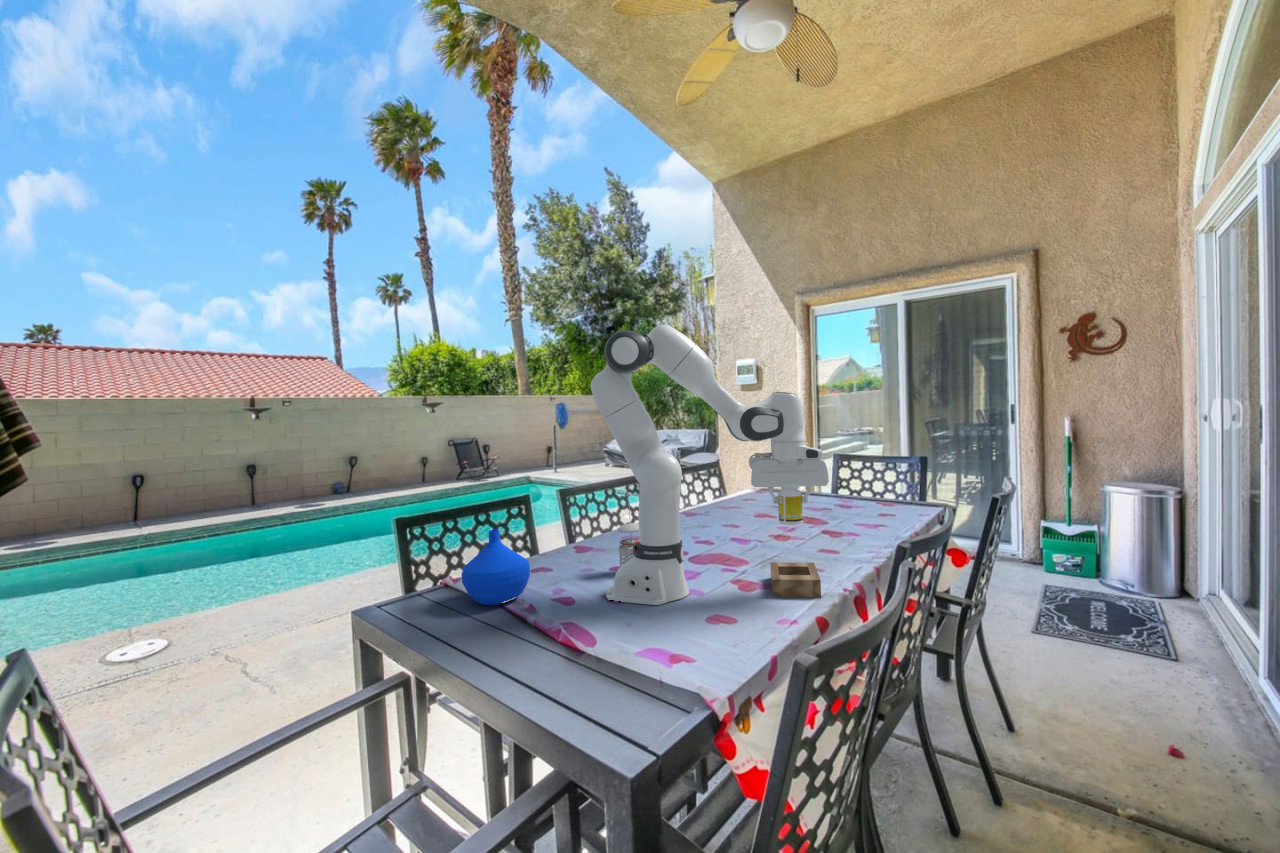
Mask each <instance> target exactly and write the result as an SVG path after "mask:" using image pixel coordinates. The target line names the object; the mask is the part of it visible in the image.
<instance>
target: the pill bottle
mask: <svg viewBox="0 0 1280 853" xmlns="http://www.w3.org/2000/svg"><path fill="white" fill-rule="evenodd" d="M798 488H799V487H797V486H796V484H795V483H785V484H784V487H780V490H779V491H778V494H777V496H778V502H779V504H777V505H778V507H777V508H778V522H779V524H781V525H786V526H797V525H801V524H802V523H803V521H804V520H803V518H804V517H803V503H802V496H803V495H802V492H801V491H800V490H799V489H798Z"/></svg>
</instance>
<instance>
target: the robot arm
mask: <svg viewBox="0 0 1280 853" xmlns="http://www.w3.org/2000/svg"><path fill="white" fill-rule="evenodd" d="M603 352H604V354H603V355H604V359H605V362H606V366H604V368H603V370H601V371H599V372H598V373H596V374H595V376H594V377H593V378H592V380H591V383H590V390H591V393H592V396H593V399H594V401H595V404H596V406H597V408H598V411H599V412H600V414H601V416H602V418H603V420H604V421H605V423H606V424H605V425H606V426H607V427H608V429H609V431H610V432H611V434H612V436H613V438H614V439H615V442H616V443H617V445H618V447H619V449H620V451H621V453H622V455H623V457H624V459H625V461H626V463H627V465H628V466H629V468H630V470H631V472H632V474H633V476H634V478H635V480H636V481H637V482H638V483H639V484H638V485H639V497H638V498H639V501H638V513H637V515H638V516H637V517H638V524H639V531H638V532H639V533H638V534H639V539H640V540H636V542H635V543H634V545H633V546H632V547H631V549H633V550H632V551H633V555H634V556H633V557H632V558H631V559H630V560H628V561H627V562H626V563H625V564H622V565H623V566H621V567H620V566H619V568H618V570H617V571H616V573H615V576H614V580H613V584H612V585H611V586H610V587H608V588H607V589H606V593H605V598H606V597H607V599H608V600H607V599H606V600H607V601H609V600H614V601H613V602H618V601H621V602H620V603H630V604H640V605H650V606H651V605H653V606H661V605H663V604H665V603H668V602H673V601H678V600H681V599H684V598H686V597H687V596H688V595H689V594H690V589H689V587H688V584H687V580H686V576H685V571H684V570H685V569H684V566H683V561H684V545H683V541H682V539H681V528H680V527H681V525H680V524H681V523H680V503H681V489H682V488H681V487H682V476H683V471H682V467H681V463H680V462H679V460H678V459H677V458H676V457H675V456H674V455H673V454H671V453H669V452H667V451H666V449H665V447H664V445H663V443H662V440H661V439H660V436H659V435H658V432H657V429H656V426H655V423H654V422H653V420H652V418H651V417H650V415H649V413H648V411H647V409H646V408H645V406H644V404H643V402H642V400H641V399H640V397H639V395H638V393H637V392H636V390H635V388H634V385H633V383H632V376H633V374H635V372H636V371H638V370H640V368H642V367H643V366H645V365H646V364H651V365H654V366H656V367H658V368H659V369H660V370H661V371H662V372H663V373H665V374H666V375H667V376H668V377H669V378H670V379H672V380H673V382H675V383H677V384H678V385H679V386H681V387H683V388H684V389H686V390H688V391H689V392H691V393H692V394H694V395H696V396H697V397H699V398H700V399H702V401H704V403H706V404H707V405H708V406H709V407H710V408H711V409H712V410H713V411H715V413H716V414H718V415H719V416H720V417H721V418H722V420H723V421H724V423H725V424H726V427H727V429H728V431H729V433H730V435H731V436H732V437H733V438H734V439H736V440H737V441H741V442H762V441H765V440H770V451H771V452H762V453H761V452H760V453H759V452H755V453H754V454H752V455H751V456H750V457H749V458H748V465H749V469H751V475H750V476H751V477H750V478H751V479H750V480H751V481H750V482H751V483H750V484H751V485H752V487H753V488H767V489H768V490H767V491H768V493H769V494H770V496H771V498H772V503H773V504H774V505H775V504H777V505H778V504H779V502H778V495H777V496H776V495H775V494H774V488H781V487H784V484H785V483H795V484H796V486H797V487H798V488H799V487H804V489H805V490H806V492H805V494H804V495H802V504H808V503H809V502H808V497H809V496H810V494H811V492H812V487H827V485H828V484H829V483H830V478H829V471H828V466H827V464H826V461H825V460H824V459H822V458H823V456H824V452H823V451H822V450H821V449H820V448H816V447H813V446H809V445H806V443H805V442H806V441H805V437H804V426H805V421H804V408H803V403H802V400H801V397H800V396H799V395H798V394H795V393H792V392H788V391H787V392H785V391H775V392H772V393H771V394H770V395H768V396H767V397H765V399H763V400H760V401H758V402H757V403H754V404H752V405H746V404H744V403H741V402H739V401H738V400H737V399H736V398H735V397H734V396H732V394H731V393H729V392H728V391H727V390H726V389H725V388H724V387H723V386H722V385H721V384H720V382H718V380H717V377H716V376H715V371H714V364H713V362H712V360H711V358H709V356H708V355H707V354H706V352H705V351H704V350H703V349H702V348H701V347H700V346H699V345H697V344H696V343H695V342H694V341H693V340H692V339H690V338H689V337H688V336H687V335H685V334H684V333H682V332H681V331H679V330H677V329H676V328H674V327H672V326H671V325H669V324H667V323H666V324H665V323H664V324H659V325H657V326H655V327H654V328H652V329H651V330H650V332H649V333H643V332H637V331H633V330H628V329H627V330H626V329H625V330H619V331H616V332H613V334H611V335H610V336H609V337H608V339H607V340H606V343H605V345H604V351H603Z"/></svg>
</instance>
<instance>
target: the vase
mask: <svg viewBox="0 0 1280 853" xmlns="http://www.w3.org/2000/svg"><path fill="white" fill-rule="evenodd" d="M487 532H488V533H487V534H488V542H487V544H486V545H485V547H484V548H483V549H482V550H480V552H478V553H477V555H475V556H474V557H473V558H472V559H470V560H469V562H468V563H467V564H465V565H464V566H463V567H462V568H463V569H462V572H461V574H460V575H461V582H462V585H463V587H464V589H465V590H466V593H467V594H468V595H469V596H470V597H471V598H472V600H474V601H475V602H476V603H479V604H480V605H483V606H499V605H500V606H501V605H502V604H501V603H502V602H504V601H507V600H509V599H512V598H514V597H517V596H518V597H519V596H520V595H521V594H522V593H523V591H525V588H526V587H527V585H528V582H529V579H530V577H531V576H530V575H531V565H530V562H529V560H528V559H527V558H525V557H524V556H522V555H520V554H519V553H518V552H516V551H514V550H513V549H511V548H509V547H508V546H506V545H505V544H504V542H502V541H501V535H500V533H501V532H500V529H497V528H496V529H490V530H488V531H487ZM518 597H517V598H518Z"/></svg>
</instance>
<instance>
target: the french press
mask: <svg viewBox="0 0 1280 853" xmlns="http://www.w3.org/2000/svg"><path fill="white" fill-rule="evenodd" d="M625 497H628V499H630V497H632V493H631V492H629V491H628V492H626V493H625ZM630 506H631V505H630V503H628V514H629V515H628V516H629V518H631V511H630V510H631V507H630ZM616 530H617V531H618V532H619V533H629V534H630V538H624V539H621V540H620V541H619V544H620V545H619V546H618V553H619V554H618V555H619V568H620V567H621V566H623V565H624V564H625V563H626V562H627V561H628V560H630V559H631V558H632V557H633V556H634V555H633V551H632V550H633V549H632V548H633V545H634V543H635V542H636V540H640V538H637V537H636V538H632V533H638V532H639V523H635V522H628V523H624V524H622V525H620V526H619V527H617V529H616Z"/></svg>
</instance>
